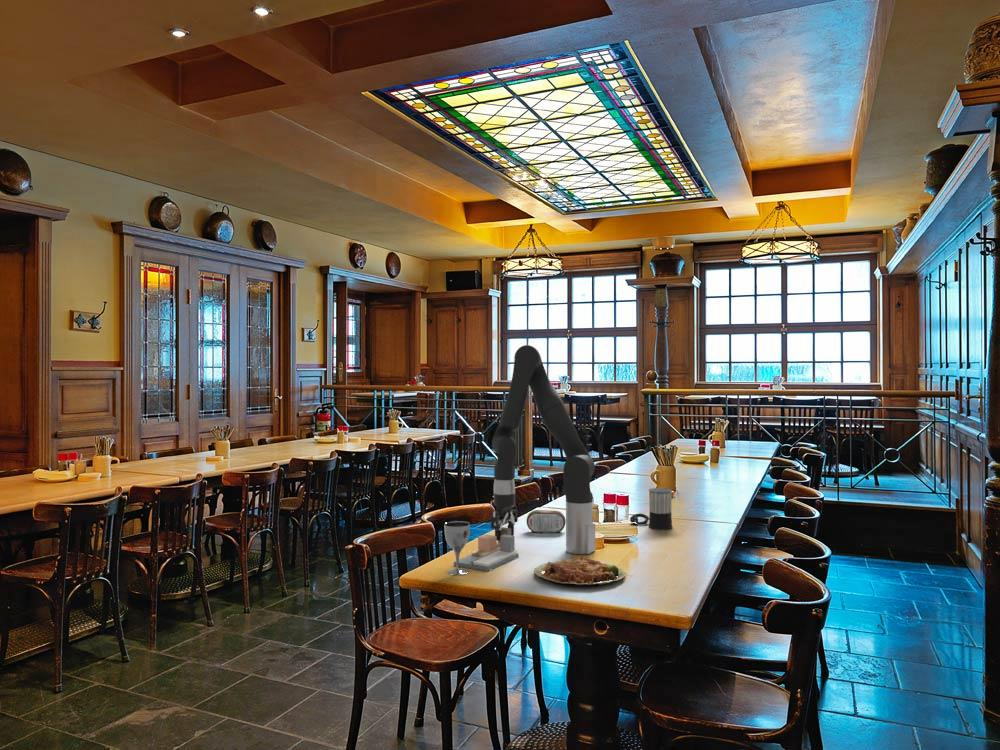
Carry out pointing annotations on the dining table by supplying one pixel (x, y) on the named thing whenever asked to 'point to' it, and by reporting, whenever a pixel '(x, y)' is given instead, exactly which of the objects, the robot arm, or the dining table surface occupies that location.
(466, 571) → the wine glass
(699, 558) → the dining table surface
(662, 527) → the milk frother
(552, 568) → the rice dish
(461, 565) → the lane board
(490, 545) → the terracotta block
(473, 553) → the grey piece
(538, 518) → the tin
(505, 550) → the grey strip
